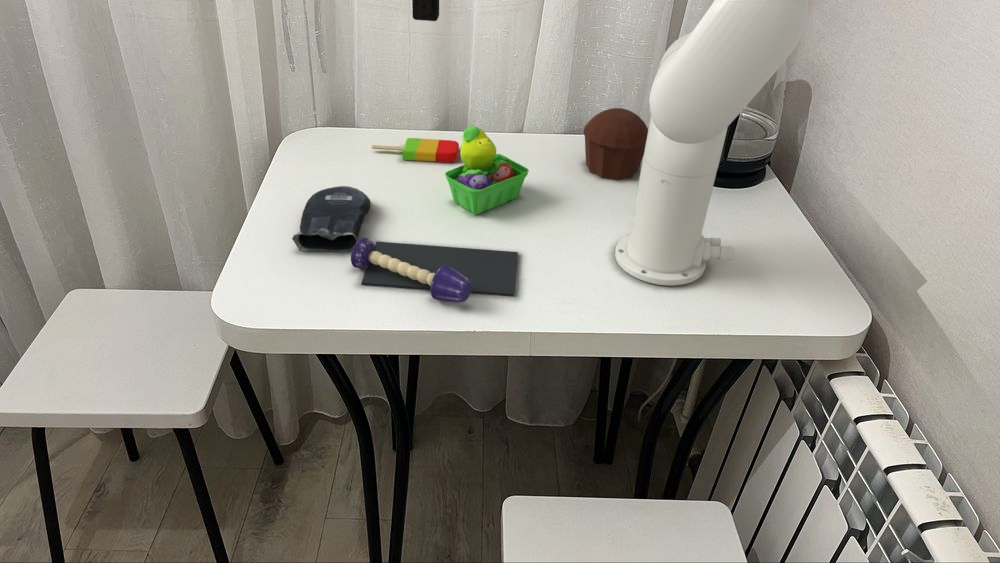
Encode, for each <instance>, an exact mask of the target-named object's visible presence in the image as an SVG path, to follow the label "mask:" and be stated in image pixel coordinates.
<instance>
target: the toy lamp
mask: <svg viewBox="0 0 1000 563" xmlns="http://www.w3.org/2000/svg"><path fill="white" fill-rule="evenodd" d="M350 263H351V265H352V267H353V268H356V269H366V268H367V267H368V266H369V265H370V264H371V263H373V264H375V265H380V266H381V267H383V268H386V269H389V270H390V271H392V272H398V273H399V274H400V275H402V276H408V277H409V278H411V279H413V280H418V281H419V282H421V283H424V284H427V283H428V285H430V286H431V288H430V290H429V293H430V296H431V298H432V299H434V300H436V301H441V302H450V303H451V302H452V303H464V302H466V301H467V300H468V299H469V297H470V296H471V294H472V293H471V290H472V283H471V281H470V280H469V279H468V278H466V277H465V276H463V275H462V274H461V273H459V272H458V271H457V270H455V269H454V268H452V267H451V266H449V265H443V266H441V267H440V268H439V269H438V270H437V272H436V273H430V272H429V271H428V270H424V269H422V270H421V269H420V268H419V267H417V266H411V265H410V264H408V263H406V262H401V261H400V260H399V259H396V258H391V257H390V256H388V255H382V254H381V253H380V252H377V251H376V247H375V243H374V241H372V240H371V239H370V238H368V237H360V238H359V239H357V243H356V244H355V245H354V247H353V248H351V253H350Z"/></svg>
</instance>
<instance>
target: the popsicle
mask: <svg viewBox="0 0 1000 563" xmlns="http://www.w3.org/2000/svg"><path fill="white" fill-rule="evenodd" d="M370 148H371V149H372V150H385V151H387V150H388V151H401V153H402V154H401V156H402V157H401V158H402V160H404V161H418V162H433V163H435V162H436V163H455V162H456V161H458V158H459V152H460V144H459V142H458V141H456V140H450V139H434V138H433V139H432V138H417V137H407V138H406V140H405V143H404V146H397V145H379V144H372V145H371V146H370Z"/></svg>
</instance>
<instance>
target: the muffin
mask: <svg viewBox="0 0 1000 563" xmlns="http://www.w3.org/2000/svg"><path fill="white" fill-rule="evenodd" d="M648 129H649V127H648V126H647V124H646V122H645V121H644V120H643V119H642V118H641V117H640V116H639V115H638V114H637V113H635V112H633V111H632V110H630V109H625V108H621V107H612V108H608V109H605V110H602V111H600V112H599V113H597V114H596V115H594V116H593V117H592V118H591V119H590V120H588V122H587V123H585V125H584V127H583V131H582V132H583V135H584V147H585V148H584V150H585V151H584V153H585V166H586V167H587V169H588V172H589V173H591V174H593V175H595V176H597V177H599V178H601V179H607V180H609V179H610V180H615V181H621V180H625V179H632V178H633V177H634V176H635V175H636V174H637V173H638V172H639V171H640V170H639V169H640V168H641V167H640V166H641V165H642V161H643V156H644V151H645V146H646V140H647V135H648Z"/></svg>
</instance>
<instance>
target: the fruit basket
mask: <svg viewBox="0 0 1000 563" xmlns="http://www.w3.org/2000/svg"><path fill="white" fill-rule="evenodd" d="M459 152H460V158H461V162H462V163H463V165H460V166H457V167H454V168H453V169H450V170H448V171H446V172H444V176H445V178H446V181H447V183H448V185H449V189H450V192H451V196H452V199H453V202H454V203H455V204H456V205H459V206H460V207H461V208H463V209H464V210H466V211H467V212H470V213H472V215H474V216H477V215H480V214H482V213H484V212H485V211H489V210H492V209H494V208H496V207H498V206H501V205H504V204H507V202H510V201H513V200H516V199H517V198H518V197H519V194H520V192H521V190H522V186H523V183H524V181H525V179H526V177H527V176H528V174H529V172H530V170H529V168H528V167H526V166H524V165H522V164H520V163H518V162H517V161H515V160H512V159H511V158H509V157H508V156H506V155H503V154H501V153H497V147H496V145H495V143H494V141H493V140H492V139H491V138H490V137H489V136H488V135H487V133H486V132H485V131H484V130H483V129H481V128H479V127H478V126H474V125H469V126H468V127H466V128H464V130H463V133H462V144H461V146H460V151H459Z"/></svg>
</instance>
